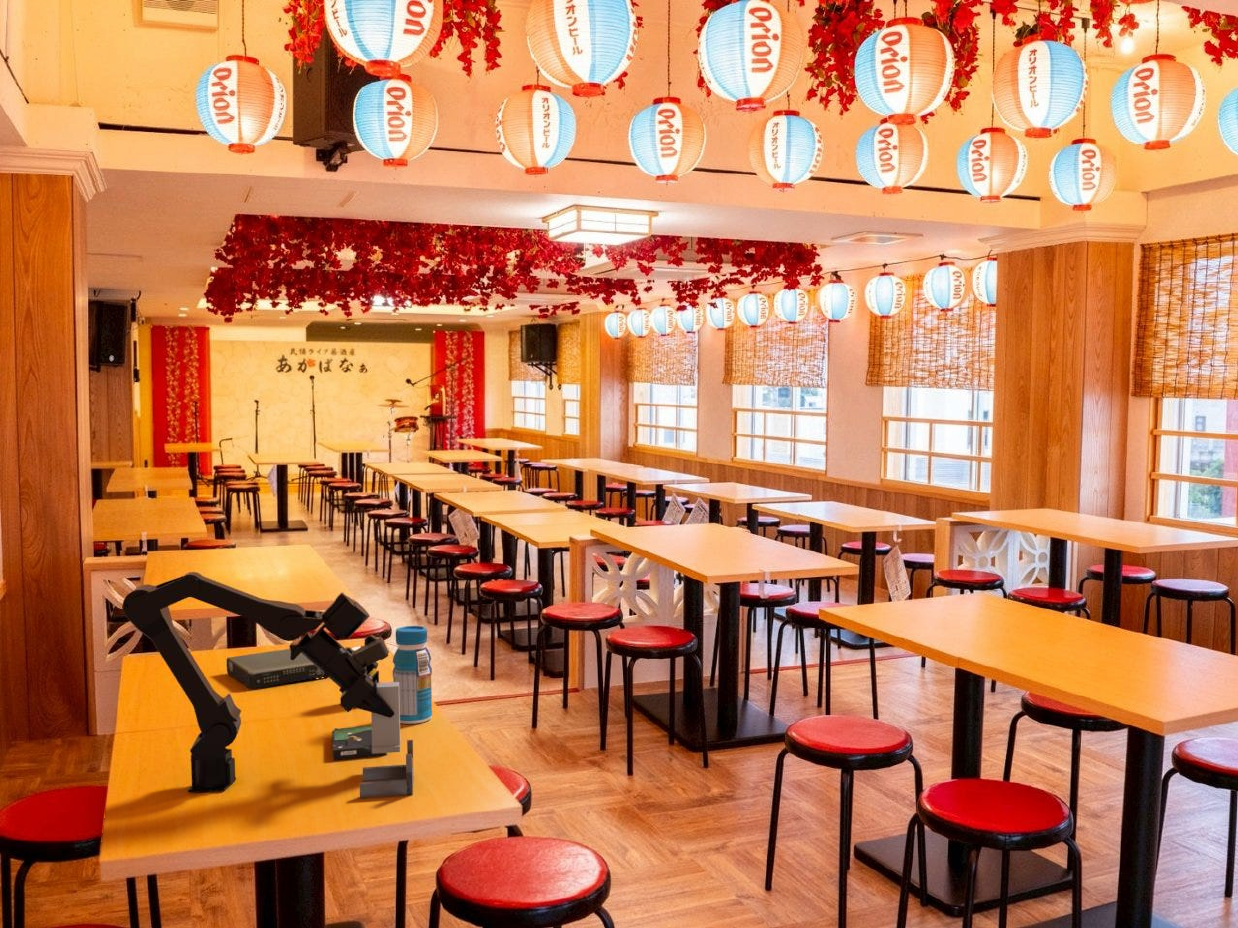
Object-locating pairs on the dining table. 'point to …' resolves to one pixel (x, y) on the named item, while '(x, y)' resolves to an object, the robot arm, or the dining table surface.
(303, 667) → the network switch
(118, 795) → the dining table surface
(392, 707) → the grey block
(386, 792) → the rack
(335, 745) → the disk drive
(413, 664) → the beverage bottle
